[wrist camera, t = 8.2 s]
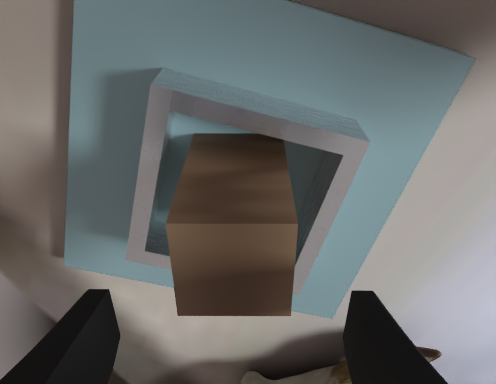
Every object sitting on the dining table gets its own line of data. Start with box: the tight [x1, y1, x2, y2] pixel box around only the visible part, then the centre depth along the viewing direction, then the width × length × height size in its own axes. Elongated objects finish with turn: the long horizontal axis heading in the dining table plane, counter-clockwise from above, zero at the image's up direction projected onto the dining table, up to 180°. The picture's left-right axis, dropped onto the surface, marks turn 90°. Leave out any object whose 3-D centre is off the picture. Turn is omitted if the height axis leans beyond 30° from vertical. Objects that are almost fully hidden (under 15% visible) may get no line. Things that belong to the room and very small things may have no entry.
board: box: [64, 0, 476, 319], centre depth 20 cm, size 16×16×1 cm
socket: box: [125, 67, 371, 295], centre depth 18 cm, size 9×9×2 cm
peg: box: [166, 133, 298, 316], centre depth 16 cm, size 4×4×7 cm
